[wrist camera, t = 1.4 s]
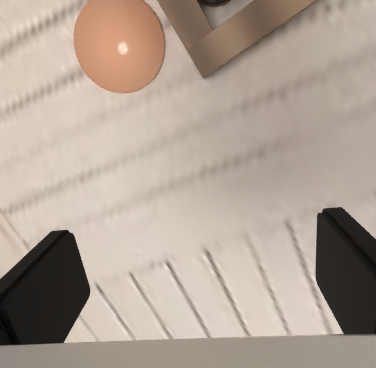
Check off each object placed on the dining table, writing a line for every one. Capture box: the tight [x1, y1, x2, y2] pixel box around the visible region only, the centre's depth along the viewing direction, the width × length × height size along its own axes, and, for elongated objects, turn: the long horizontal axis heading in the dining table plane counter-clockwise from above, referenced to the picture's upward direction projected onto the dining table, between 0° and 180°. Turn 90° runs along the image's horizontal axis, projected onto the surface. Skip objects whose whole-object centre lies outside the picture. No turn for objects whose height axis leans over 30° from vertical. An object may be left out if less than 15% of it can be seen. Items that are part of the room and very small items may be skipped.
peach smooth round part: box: [74, 0, 165, 93], centre depth 31 cm, size 10×10×1 cm
